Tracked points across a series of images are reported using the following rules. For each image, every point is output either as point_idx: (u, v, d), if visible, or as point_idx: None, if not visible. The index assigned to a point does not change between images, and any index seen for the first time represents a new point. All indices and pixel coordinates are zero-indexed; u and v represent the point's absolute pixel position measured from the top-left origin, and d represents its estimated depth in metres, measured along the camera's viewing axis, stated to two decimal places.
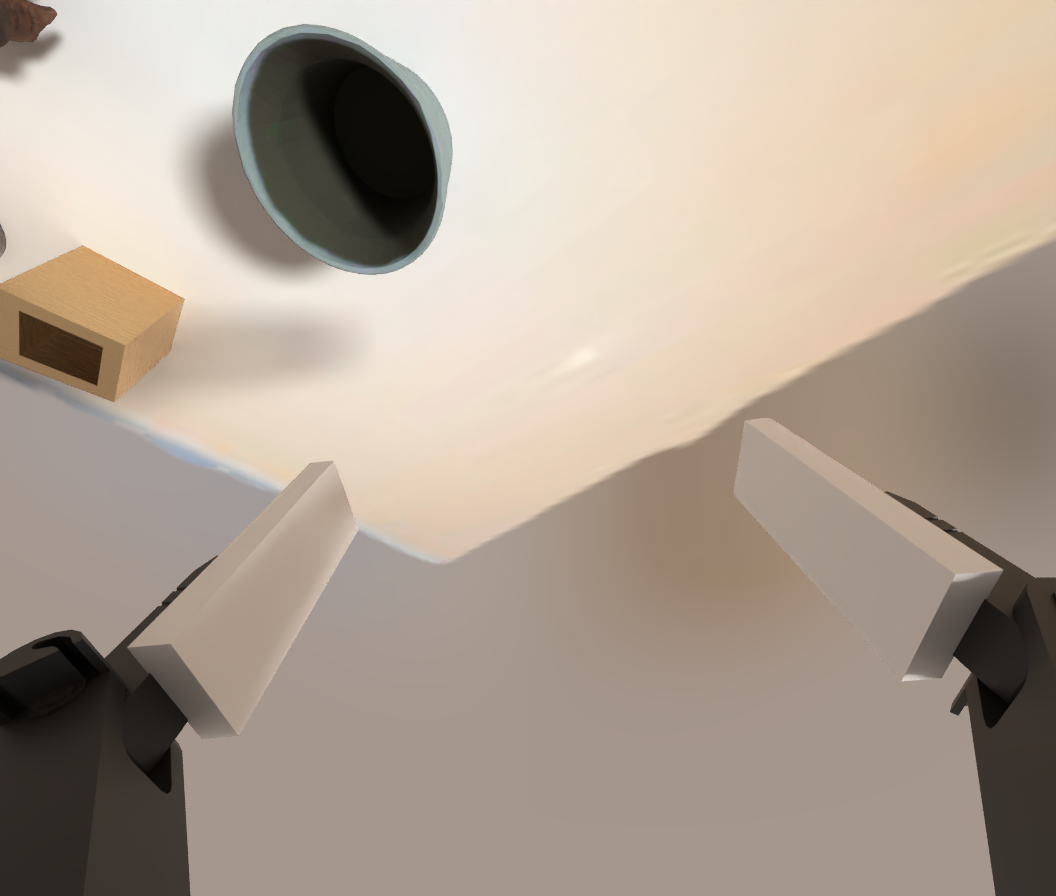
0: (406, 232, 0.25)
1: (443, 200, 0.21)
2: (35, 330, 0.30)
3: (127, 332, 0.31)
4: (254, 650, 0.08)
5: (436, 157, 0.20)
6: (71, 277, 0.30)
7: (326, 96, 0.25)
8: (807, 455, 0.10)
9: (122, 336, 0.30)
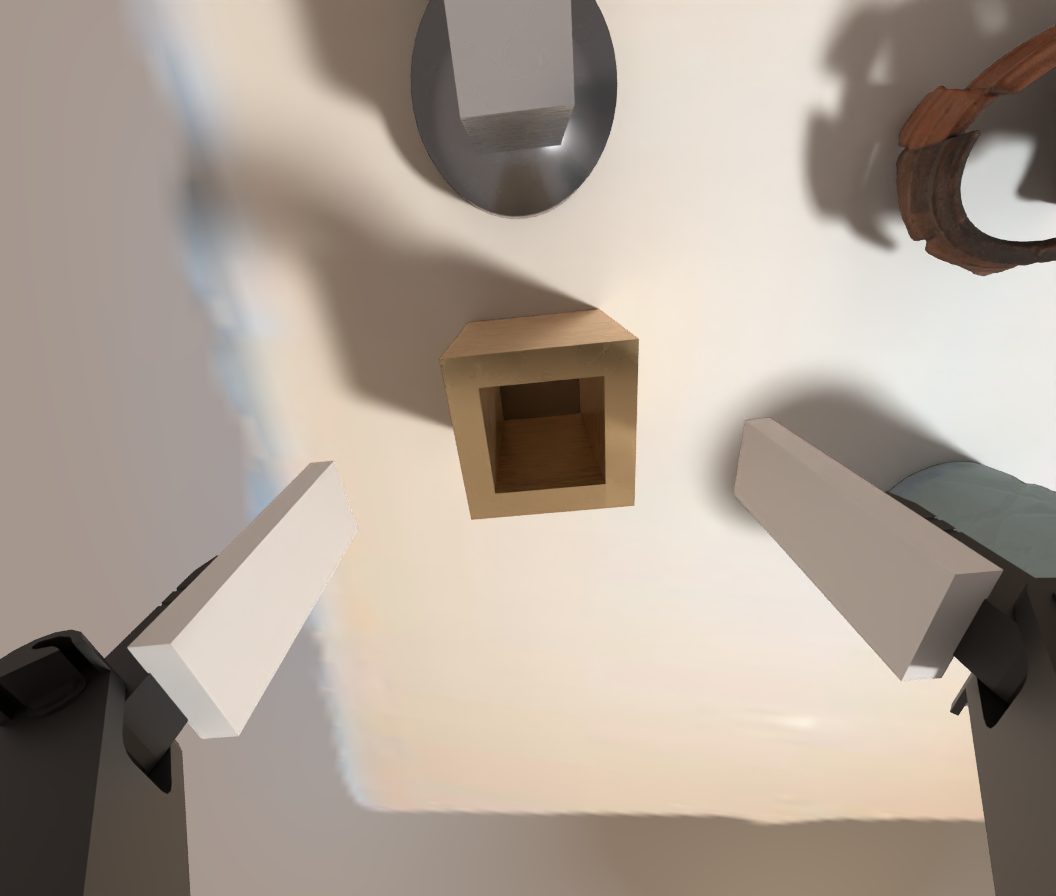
0: None
1: None
2: None
3: None
4: (254, 650, 0.08)
5: None
6: None
7: None
8: (807, 455, 0.10)
9: None
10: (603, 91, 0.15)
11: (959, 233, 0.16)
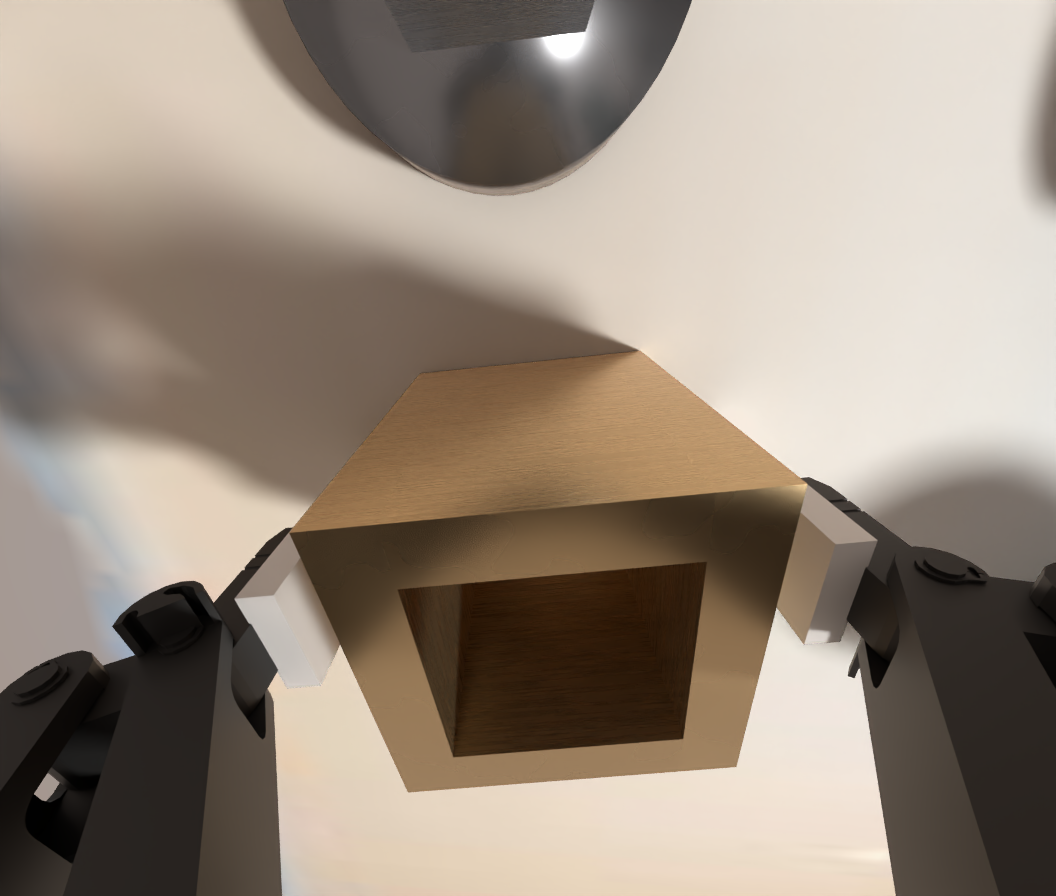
0: None
1: None
2: None
3: None
4: None
5: None
6: None
7: None
8: None
9: None
10: None
11: None
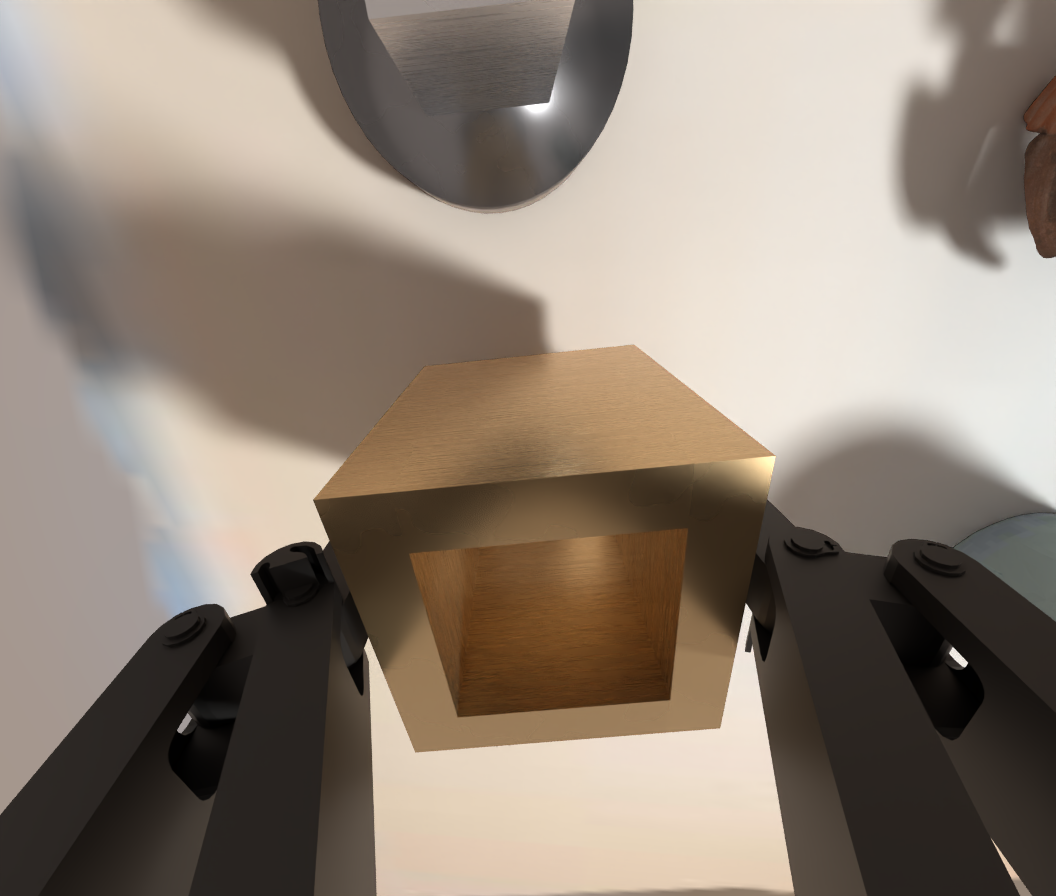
0: None
1: None
2: None
3: None
4: None
5: None
6: None
7: None
8: None
9: None
10: (612, 19, 0.10)
11: None
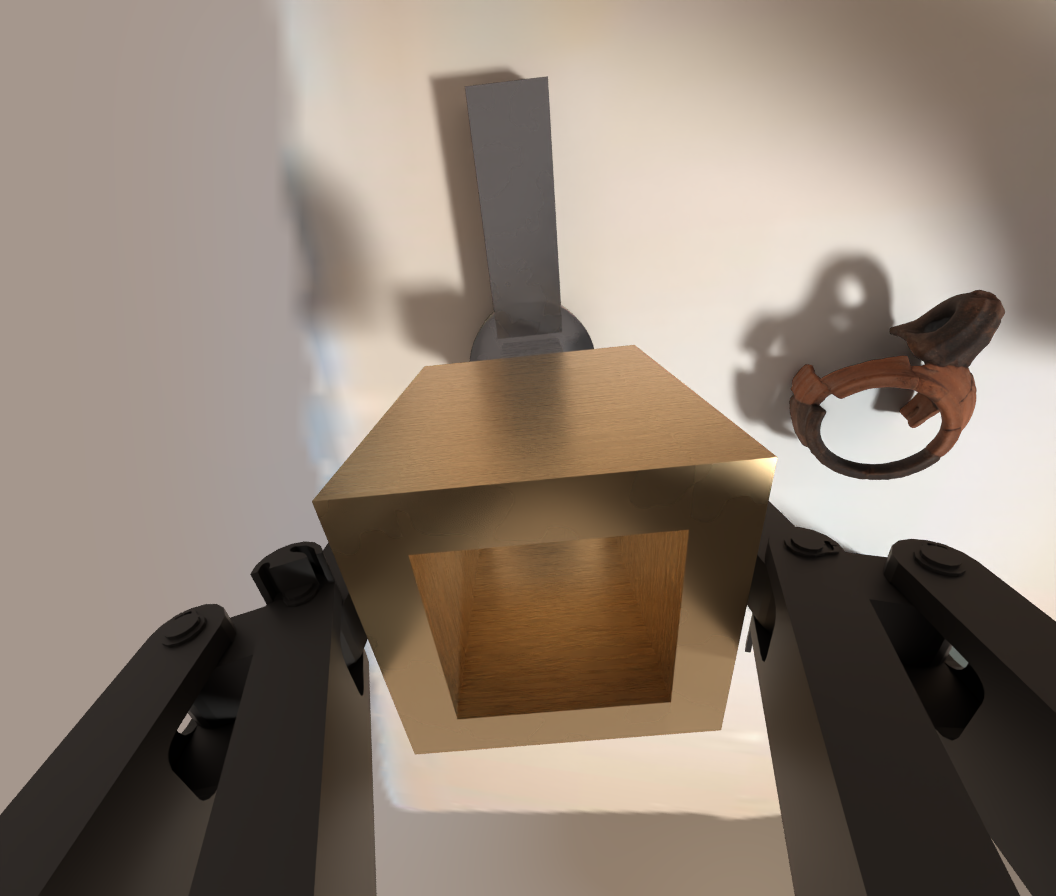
0: None
1: None
2: None
3: None
4: None
5: None
6: None
7: None
8: None
9: None
10: None
11: (822, 457, 0.26)
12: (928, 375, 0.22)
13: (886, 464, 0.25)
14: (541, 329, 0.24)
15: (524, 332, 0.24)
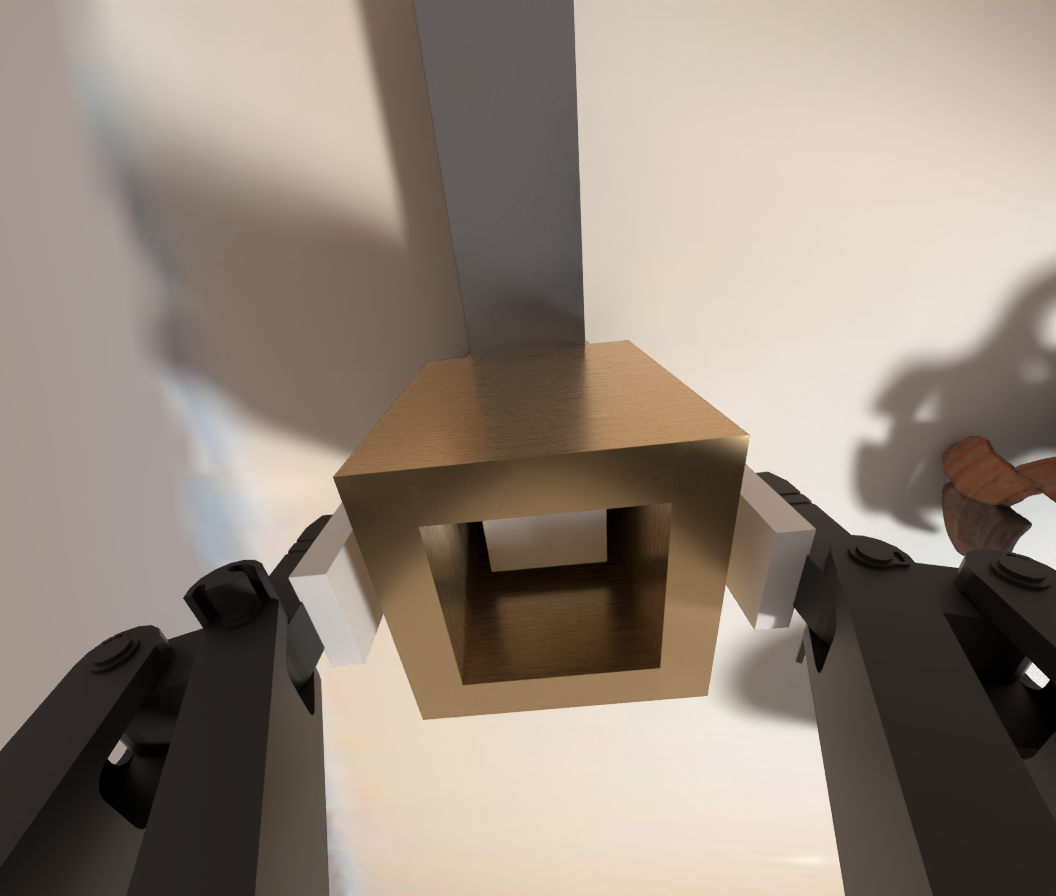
0: None
1: None
2: None
3: None
4: (370, 593, 0.10)
5: None
6: None
7: None
8: None
9: None
10: None
11: None
12: None
13: None
14: None
15: None
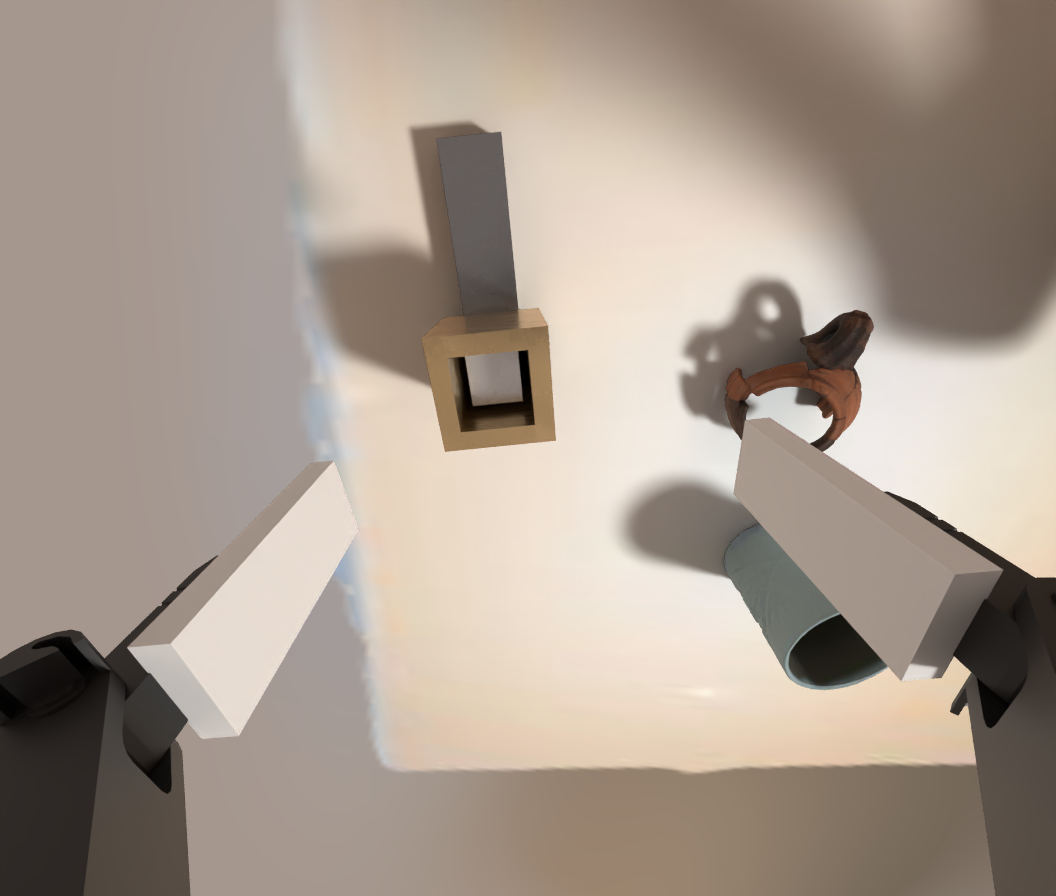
0: None
1: (858, 682, 0.34)
2: None
3: None
4: (254, 650, 0.08)
5: (878, 670, 0.34)
6: None
7: None
8: (807, 455, 0.10)
9: None
10: None
11: None
12: (820, 377, 0.28)
13: None
14: None
15: None
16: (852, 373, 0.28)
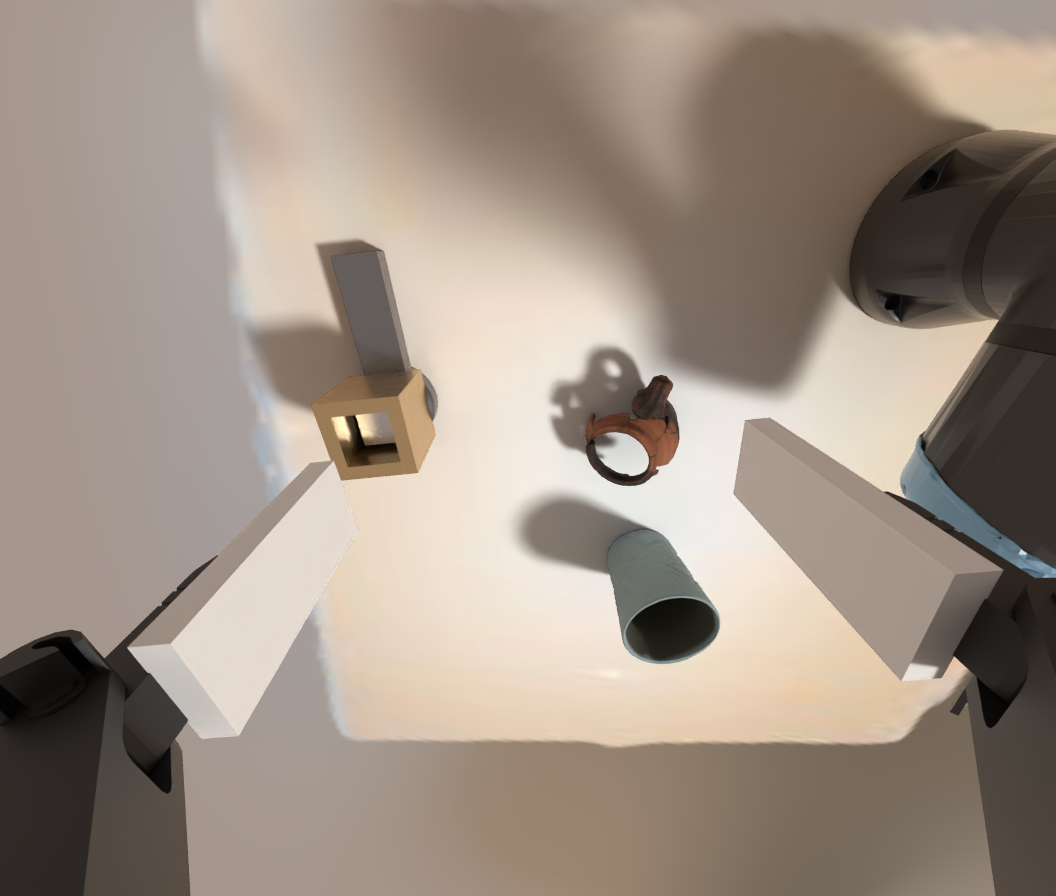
0: (645, 631, 0.46)
1: None
2: None
3: (420, 460, 0.35)
4: (254, 650, 0.08)
5: (702, 648, 0.42)
6: (414, 398, 0.35)
7: None
8: (807, 455, 0.10)
9: (418, 463, 0.35)
10: None
11: (600, 472, 0.41)
12: (637, 425, 0.37)
13: (634, 476, 0.40)
14: None
15: None
16: (662, 421, 0.38)
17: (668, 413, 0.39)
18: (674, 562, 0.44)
